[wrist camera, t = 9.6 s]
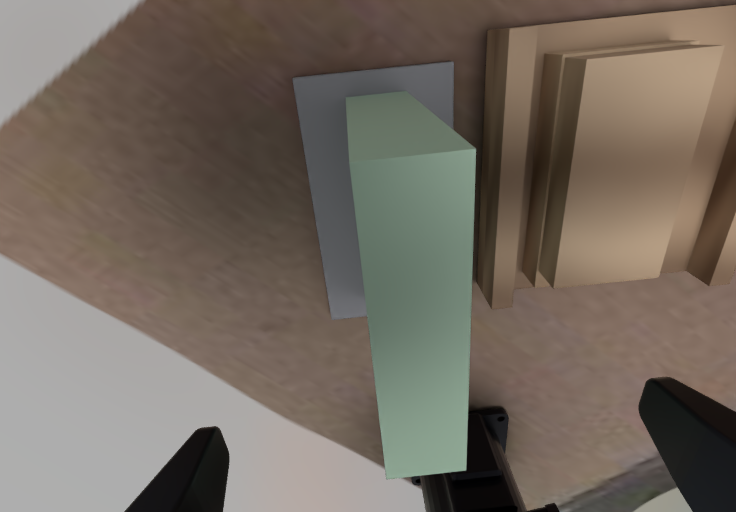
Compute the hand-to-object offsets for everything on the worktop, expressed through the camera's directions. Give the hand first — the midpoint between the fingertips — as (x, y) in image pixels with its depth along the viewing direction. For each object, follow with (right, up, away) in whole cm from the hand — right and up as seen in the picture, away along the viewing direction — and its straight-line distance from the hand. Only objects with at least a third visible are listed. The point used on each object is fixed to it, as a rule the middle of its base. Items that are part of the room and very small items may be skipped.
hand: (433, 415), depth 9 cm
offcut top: (+8, +7, +8) cm, 14 cm away
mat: (-1, +6, +11) cm, 13 cm away
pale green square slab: (-1, +6, +11) cm, 12 cm away
